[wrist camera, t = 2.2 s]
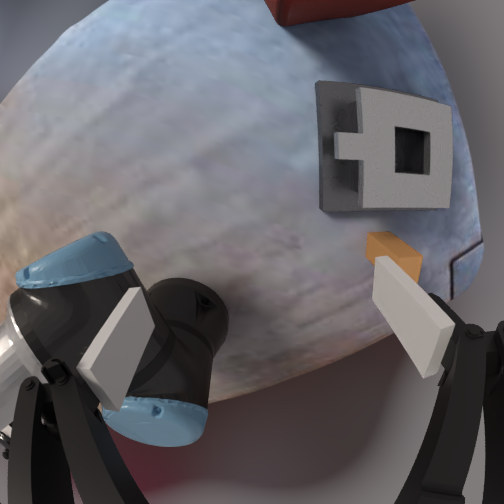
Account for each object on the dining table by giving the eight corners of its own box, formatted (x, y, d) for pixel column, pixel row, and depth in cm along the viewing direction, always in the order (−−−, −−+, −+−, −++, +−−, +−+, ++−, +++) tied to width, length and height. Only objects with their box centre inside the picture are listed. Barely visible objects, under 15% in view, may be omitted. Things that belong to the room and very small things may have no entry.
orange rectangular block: (386, 255, 41) (417, 283, 32) (365, 256, 41) (393, 286, 32) (389, 231, 39) (423, 255, 30) (367, 232, 39) (398, 258, 30)
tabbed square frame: (429, 207, 38) (461, 222, 30) (319, 208, 38) (338, 225, 30) (430, 101, 31) (463, 97, 23) (314, 83, 31) (333, 68, 23)
